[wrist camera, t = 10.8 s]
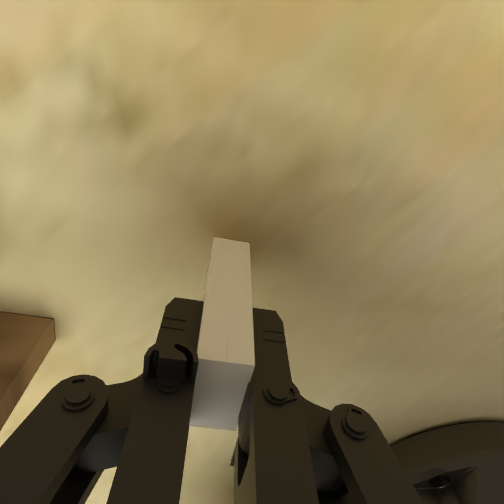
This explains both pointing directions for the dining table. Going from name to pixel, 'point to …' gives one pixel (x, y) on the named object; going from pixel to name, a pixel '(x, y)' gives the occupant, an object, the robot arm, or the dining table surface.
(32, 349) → the corner fence
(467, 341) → the dining table surface
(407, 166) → the dining table surface
